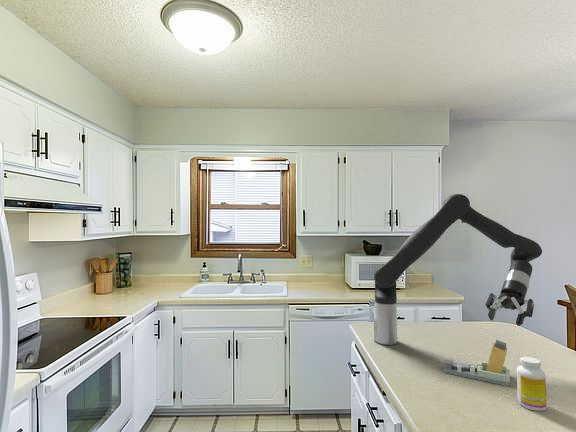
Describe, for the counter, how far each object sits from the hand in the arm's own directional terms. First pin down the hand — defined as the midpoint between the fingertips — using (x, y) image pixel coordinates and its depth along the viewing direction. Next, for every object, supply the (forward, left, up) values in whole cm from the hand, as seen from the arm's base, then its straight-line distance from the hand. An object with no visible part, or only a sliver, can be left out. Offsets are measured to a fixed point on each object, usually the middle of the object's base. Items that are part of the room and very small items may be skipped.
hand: (503, 321), depth 117 cm
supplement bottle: (+6, -23, -17) cm, 29 cm away
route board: (-8, -9, -17) cm, 21 cm away
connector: (-3, -9, -15) cm, 18 cm away
